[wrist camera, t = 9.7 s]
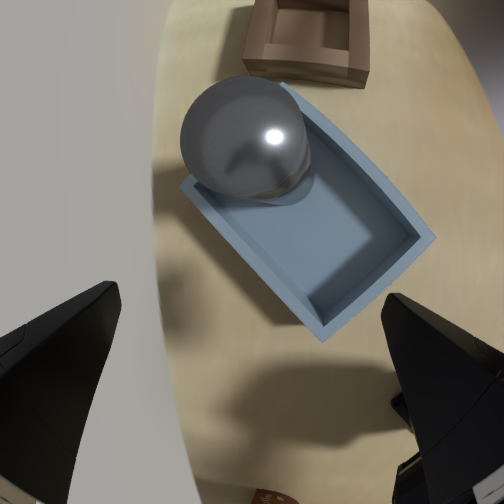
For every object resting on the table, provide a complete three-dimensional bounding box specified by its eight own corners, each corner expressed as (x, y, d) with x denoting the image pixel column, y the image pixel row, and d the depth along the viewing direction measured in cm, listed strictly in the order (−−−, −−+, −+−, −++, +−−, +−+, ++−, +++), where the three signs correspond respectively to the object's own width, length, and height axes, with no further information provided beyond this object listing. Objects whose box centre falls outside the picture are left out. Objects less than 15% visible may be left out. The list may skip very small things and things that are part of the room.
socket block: (364, 11, 17) (367, -9, 14) (364, 88, 18) (369, 71, 15) (266, 3, 19) (259, -17, 16) (251, 76, 20) (241, 59, 17)
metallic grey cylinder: (327, 169, 19) (330, 116, 8) (289, 218, 20) (250, 222, 9) (277, 133, 19) (228, 58, 9) (240, 181, 20) (159, 151, 10)
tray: (419, 234, 19) (436, 237, 15) (322, 324, 21) (321, 343, 18) (288, 101, 20) (282, 81, 16) (198, 191, 22) (178, 186, 19)
